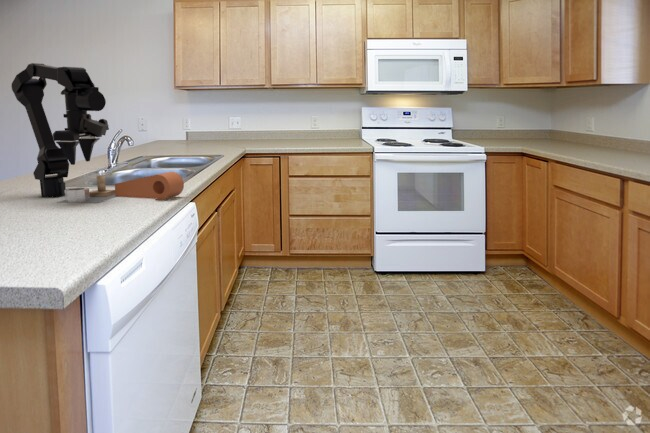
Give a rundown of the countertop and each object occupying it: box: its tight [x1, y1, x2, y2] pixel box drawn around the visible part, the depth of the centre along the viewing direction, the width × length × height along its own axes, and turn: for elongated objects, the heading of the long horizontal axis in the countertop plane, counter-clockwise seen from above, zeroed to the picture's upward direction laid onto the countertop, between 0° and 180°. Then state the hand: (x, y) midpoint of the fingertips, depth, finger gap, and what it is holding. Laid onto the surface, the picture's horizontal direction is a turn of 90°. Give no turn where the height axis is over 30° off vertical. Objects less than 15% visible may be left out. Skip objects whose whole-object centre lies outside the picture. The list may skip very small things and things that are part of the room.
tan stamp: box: [89, 174, 115, 197], centre depth 183 cm, size 6×6×6 cm
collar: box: [64, 187, 90, 202], centre depth 175 cm, size 6×6×4 cm
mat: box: [56, 195, 118, 204], centre depth 179 cm, size 13×17×1 cm
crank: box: [114, 171, 185, 201], centre depth 182 cm, size 20×8×8 cm, turn 73°
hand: (80, 162), depth 174 cm, fingers open, 9 cm apart
